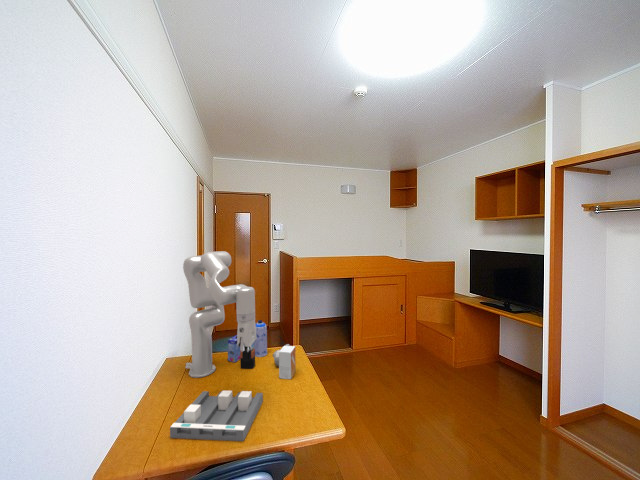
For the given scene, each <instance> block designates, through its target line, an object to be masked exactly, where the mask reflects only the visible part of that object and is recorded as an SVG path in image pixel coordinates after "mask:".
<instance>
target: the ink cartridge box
mask: <svg viewBox="0 0 640 480" xmlns="http://www.w3.org/2000/svg"><path fill="white" fill-rule="evenodd" d="M240 352H241V351H240V347H238V344H237V334H236V335H233V336H232V337H230V338H228V339H227V361H228V362H231V363H237V362H238V361H239V360H240Z"/></svg>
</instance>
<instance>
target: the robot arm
mask: <svg viewBox="0 0 640 480" xmlns="http://www.w3.org/2000/svg"><path fill="white" fill-rule="evenodd" d="M231 264H232V256H231V254H230V253H229V252H227V251H224V250H223V251H222V250H221V251H207V252H205V253H203V254H202V255H193V256H188V257H187V258H185V259H184V261H183V263H182V265H183V266H182V269H183V273H184V276H185V278H186V281H187V284H188V296H189V301H190V302H189V303H190V305H191V308H193V309H201V308H204V309H201V310H198V311H194V312H193V313H191V314H190V316H189V317H188V318H189V319H188V323H189V329H190V335H191V337H190V338H191V362H186V363H185V369H189V371H188V376H189V377H191V378H196V379H199V378H203V377H207V376H209V375H211V374H213V373H214V372H215V371H216V365H215V364H213V340H212V339H213V337H212V334H211V333H210V331H208V330H207V329H209V328H212V327H216V326H219V325H221V324H223V323H224V321H225V317H226V314H225V313H226V312H225V308H224V307H225V306H226V305H229V304H235V303H236V322H237V331H236V333H237V334H236V335H237V344H238V347H240V351H242V358H243V361H250V360H251V348H252V345H253V344H254V341H255V340H256V297H255V296H256V290H255V288H254V287H252V286H247V285H245V284H244V283H243V284H242V283H240V284H232V285H227V286H221V285H220V283H221V284H222V282H224V281H226V280H227V278H228V277H229V275H230V269H229V267H230V266H231ZM202 272H206V273H207V274H208V275H209V277H210V280H209V284H208V286H207V281H206V279H205V277H204V276H203V274H201V273H202ZM206 307H211V308H206ZM205 308H206V309H205Z"/></svg>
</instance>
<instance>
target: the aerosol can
mask: <svg viewBox="0 0 640 480" xmlns="http://www.w3.org/2000/svg"><path fill="white" fill-rule="evenodd" d="M255 324H256V340H255V341H254V342H253V349H255V358H262V357H266V356H267V355H268V330H267V328H268V327H267V324H266V323H265V322H264V321H263V320H261V319H259V320H258V321H257V322H255Z"/></svg>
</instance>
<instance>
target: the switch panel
mask: <svg viewBox="0 0 640 480" xmlns="http://www.w3.org/2000/svg"><path fill="white" fill-rule="evenodd" d="M221 392H222V391H219V392H218V394H217V395H210V391H209V390H208V391H206V390H203V391H202V392H201V393H200V394H199V396H197V398H196V399H194V400H193V402H192V403H191V404H193V405H201V416H200V418H199V419H198V420H197V421H196V423H195V424H192V423H184V412H183V413H182V414H181V415H180V416H179V417H178V418H177V419H176V421H175V422H173V423H172V425H170V426H169V427H170V428H169V438H170V439H187V440H188V439H189V440H206V441H207V440H210V441H227V440H228V441H232V442H245V439H246V437H247V435H248V433H249V431H250V429H251V427H252V425H253V422H254V420H255V418H257V417H256V416H257V415H258V412H259V410H260V408H261V407H262V404H263V402H264V393H263V392H256V394H255V395H254V396H253V397H252V403H251V405H250V406H249V408H248V410H247V411H238V396H239V395H240V393H241V392H242V391H240V392H239V391H238V392H237V394H236V395H235V396H232V403H231V404H230V406H229V407H228V409H227V410H218V396H219V395H220V393H221Z"/></svg>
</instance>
